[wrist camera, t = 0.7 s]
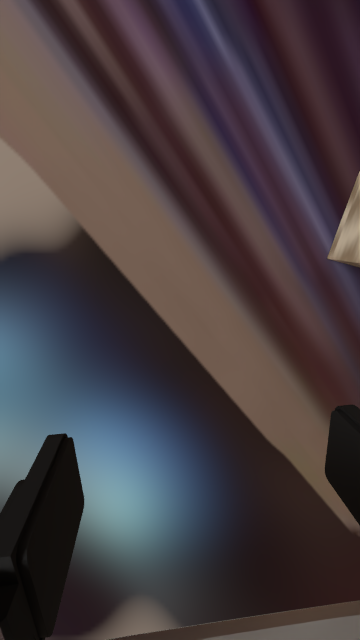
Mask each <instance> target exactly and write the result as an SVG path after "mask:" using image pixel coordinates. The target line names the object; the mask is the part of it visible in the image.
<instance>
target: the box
mask: <svg viewBox="0 0 360 640" xmlns="http://www.w3.org/2000/svg"><path fill="white" fill-rule="evenodd" d="M327 259H331V260H334V261H338V262H342V263H345V264H349V265H353V266H356V267H360V172H359V175H358V177H357V180H356V183H355V185H354V188H353V191H352V193H351V196H350V199H349V201H348V204H347V207H346V209H345V212H344V215H343V217H342V220H341V223H340V225H339V228H338V231H337V233H336V236H335V239H334V241H333V244H332V247H331V249H330V252H329V255H328V258H327Z"/></svg>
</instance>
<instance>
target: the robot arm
mask: <svg viewBox="0 0 360 640" xmlns="http://www.w3.org/2000/svg"><path fill="white" fill-rule="evenodd" d="M325 474H326V477H327V479H328V481H329V482H330V484H331V485H332V487H333V488H334V490H335V491H336V492H337V494H338V495H339V497H340V498H341V500H342V501H343V502H344V504H345V505H346V507H347V508H348V509H349V511H350V512H351V514H352V515H353V517H354V518H355V519H356V521H357V522H358V524H359V525H360V409H359V408H358V407H356V406H355V405H344V406H337V407H336V408H335V411H332V413H331V420H330V428H329V437H328V445H327V454H326V463H325ZM83 508H84V495H83V490H82V484H81V479H80V474H79V469H78V463H77V458H76V453H75V447H74V442H73V439H72V437H70V438H68V437H67V434H55V435H48V436H47V438H46V440H45V442H44V443H43V446H42V447H41V449H40V451H39V453H38V455H37V457H36V459H35V461H34V463H33V465H32V467H31V469H30V471H29V473H28V475H27V477H26V479H25V480H21V481H19V482H18V483H17V484H16V486H15V487H14V489H13V491H12V493H11V495H10V497H9V498H8V500H7V502H6V504H5V506H4V508H3V509H2V512H1V513H0V640H45V637H50V636H51V635H52V633H53V630H54V626H55V622H56V618H57V614H58V610H59V606H60V602H61V598H62V594H63V590H64V585H65V582H66V578H67V573H68V569H69V565H70V561H71V557H72V553H73V549H74V545H75V541H76V537H77V533H78V529H79V525H80V521H81V516H82V513H83ZM108 640H360V601H354V602H347V603H340V604H333V605H326V606H319V607H313V608H306V609H299V610H292V611H286V612H279V613H272V614H266V615H259V616H253V617H247V618H239V619H233V620H226V621H220V622H214V623H207V624H201V625H194V626H188V627H182V628H176V629H169V630H163V631H156V632H150V633H143V634H137V635H131V636H125V637H119V638H114V639H108Z"/></svg>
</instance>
